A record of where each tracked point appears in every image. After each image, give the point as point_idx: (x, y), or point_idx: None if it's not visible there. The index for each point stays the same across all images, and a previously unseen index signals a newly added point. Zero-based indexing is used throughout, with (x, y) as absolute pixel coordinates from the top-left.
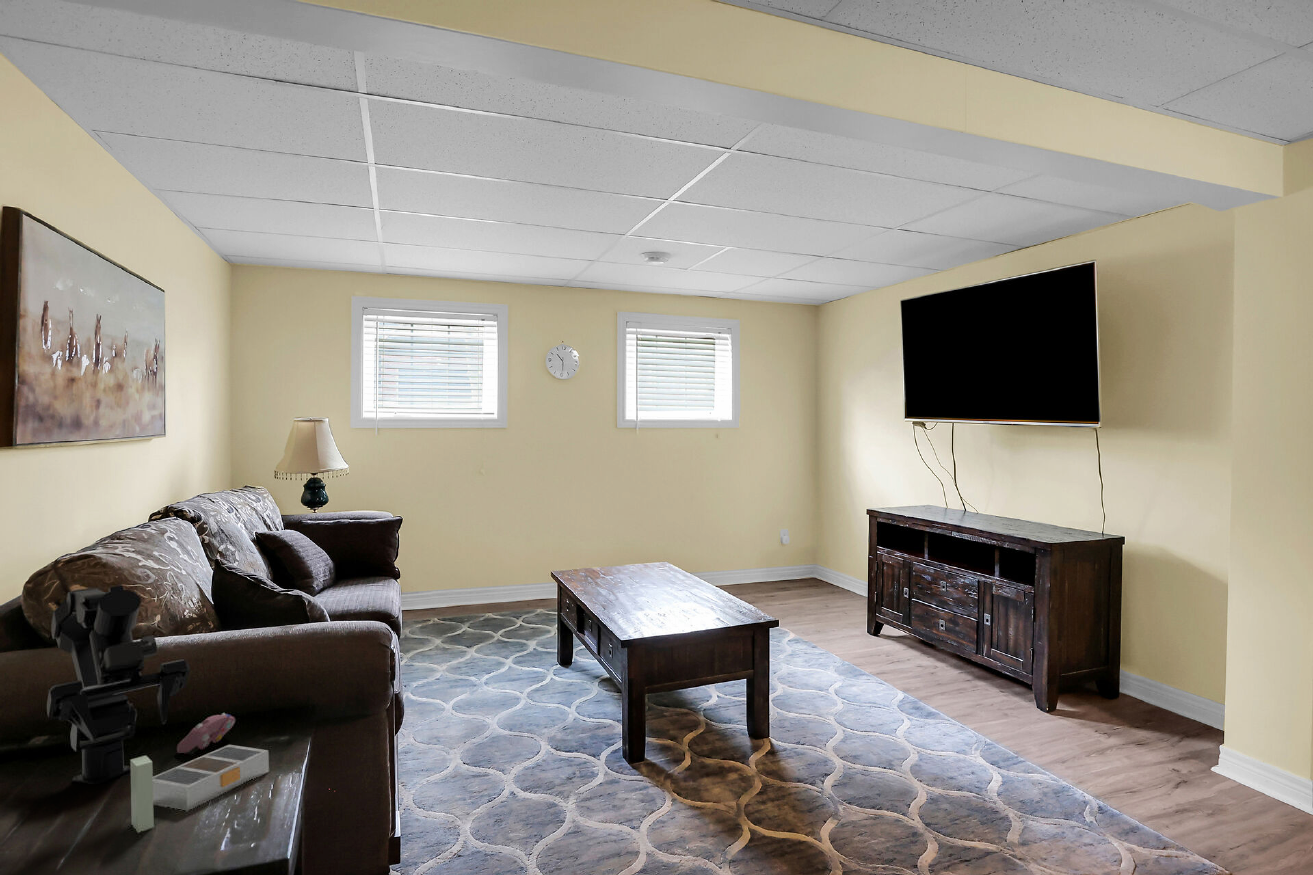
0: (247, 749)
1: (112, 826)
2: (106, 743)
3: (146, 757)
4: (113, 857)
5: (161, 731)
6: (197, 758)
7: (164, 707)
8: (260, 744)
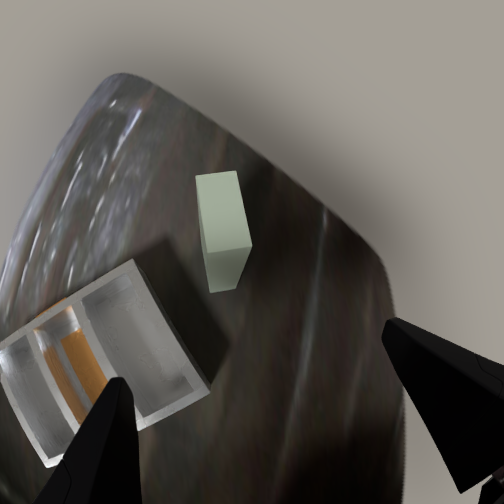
0: (14, 399)
1: (266, 305)
2: None
3: (207, 228)
4: (259, 175)
5: None
6: None
7: (96, 426)
8: (32, 499)
